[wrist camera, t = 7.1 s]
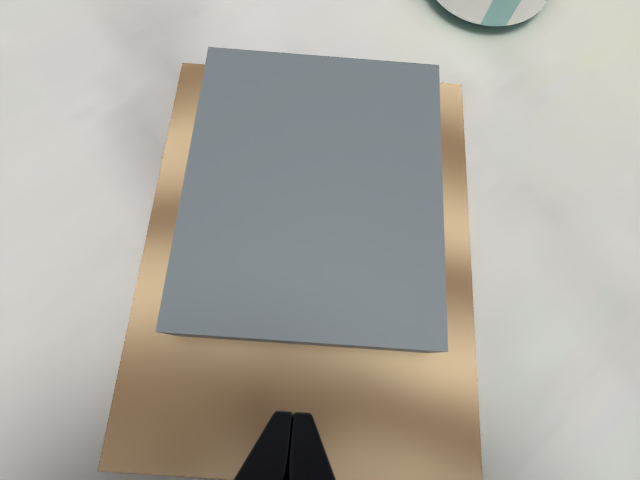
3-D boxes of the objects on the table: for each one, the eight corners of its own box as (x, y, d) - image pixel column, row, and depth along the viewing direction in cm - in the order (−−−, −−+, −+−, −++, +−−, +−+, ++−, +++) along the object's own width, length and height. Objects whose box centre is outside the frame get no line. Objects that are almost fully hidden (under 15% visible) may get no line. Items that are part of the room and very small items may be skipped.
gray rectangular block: (448, 351, 13) (439, 65, 17) (155, 331, 13) (208, 47, 17) (427, 353, 16) (422, 100, 19) (177, 336, 15) (220, 84, 19)
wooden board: (477, 491, 15) (483, 495, 14) (104, 467, 14) (97, 471, 14) (457, 91, 20) (461, 84, 20) (185, 70, 20) (182, 62, 19)
